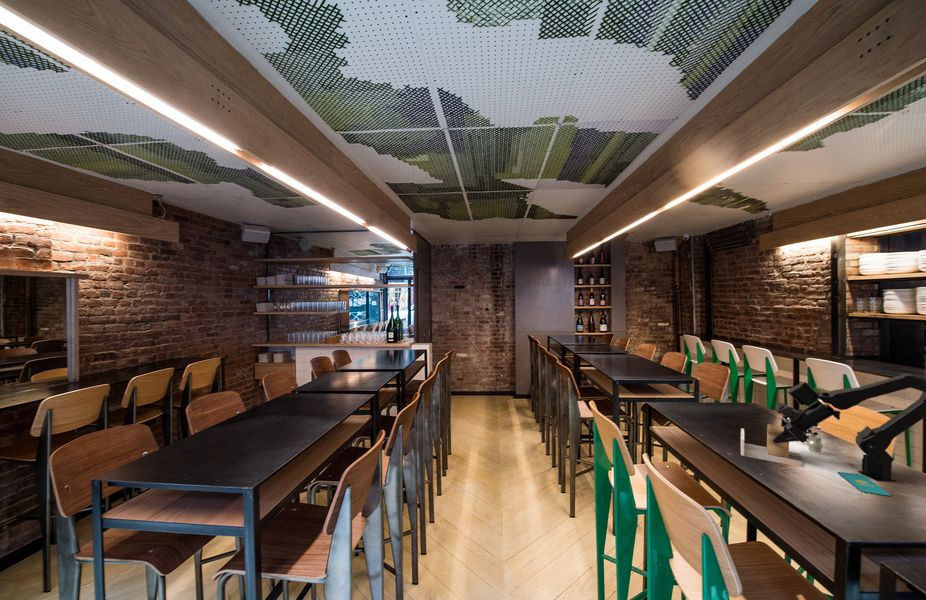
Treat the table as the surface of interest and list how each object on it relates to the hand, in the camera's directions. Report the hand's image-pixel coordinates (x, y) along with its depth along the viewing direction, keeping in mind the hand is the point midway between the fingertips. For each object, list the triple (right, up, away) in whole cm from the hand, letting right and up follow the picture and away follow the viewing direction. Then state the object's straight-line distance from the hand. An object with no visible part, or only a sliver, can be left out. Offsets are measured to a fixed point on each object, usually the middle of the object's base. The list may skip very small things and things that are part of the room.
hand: (773, 439), depth 148 cm
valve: (+21, -7, +7) cm, 24 cm away
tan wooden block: (+1, -6, -1) cm, 6 cm away
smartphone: (+12, -8, -21) cm, 26 cm away
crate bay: (-1, -7, 0) cm, 7 cm away
